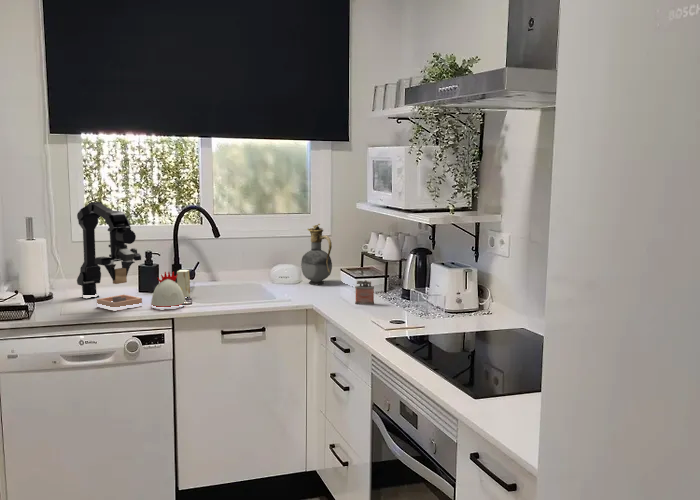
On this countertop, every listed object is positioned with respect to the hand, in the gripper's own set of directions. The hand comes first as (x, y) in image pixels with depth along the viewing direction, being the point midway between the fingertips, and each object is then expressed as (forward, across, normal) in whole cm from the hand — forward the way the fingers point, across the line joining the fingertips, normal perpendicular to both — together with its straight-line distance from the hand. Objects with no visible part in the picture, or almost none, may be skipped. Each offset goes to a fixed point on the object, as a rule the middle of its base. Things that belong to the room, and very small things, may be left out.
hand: (119, 279), depth 280 cm
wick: (+2, 0, 0) cm, 2 cm away
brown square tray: (+12, -1, 0) cm, 12 cm away
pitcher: (+12, +89, -34) cm, 96 cm away
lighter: (+12, +65, -79) cm, 104 cm away
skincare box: (+12, +28, -6) cm, 31 cm away
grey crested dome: (+12, +12, -16) cm, 23 cm away
